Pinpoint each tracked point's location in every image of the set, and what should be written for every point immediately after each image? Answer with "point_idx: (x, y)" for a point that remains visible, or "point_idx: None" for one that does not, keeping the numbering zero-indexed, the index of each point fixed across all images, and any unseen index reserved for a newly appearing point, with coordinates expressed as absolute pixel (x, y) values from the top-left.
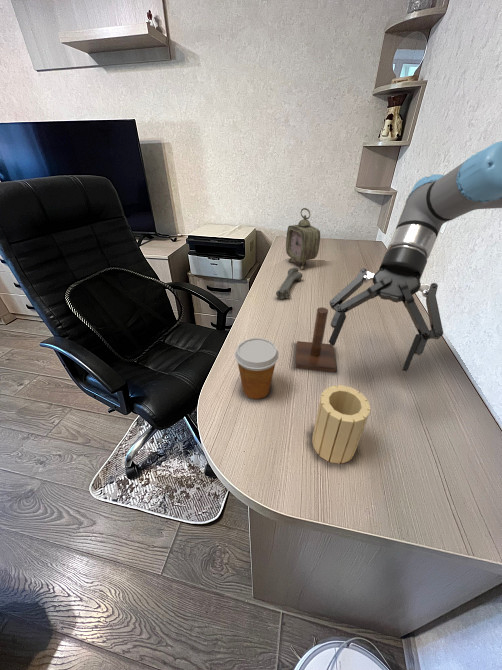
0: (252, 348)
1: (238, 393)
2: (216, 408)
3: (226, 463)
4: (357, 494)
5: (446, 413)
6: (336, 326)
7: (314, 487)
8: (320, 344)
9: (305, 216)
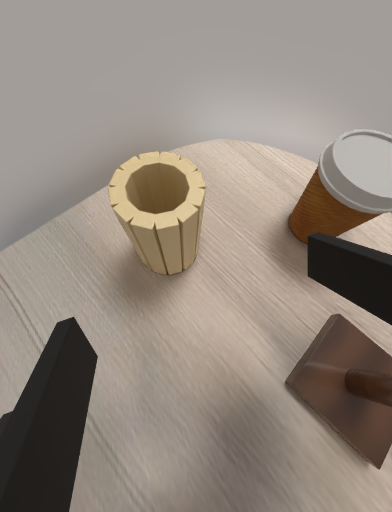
0: (385, 161)
1: None
2: (299, 170)
3: (224, 146)
4: (108, 220)
5: None
6: (375, 253)
7: None
8: (376, 388)
9: None
